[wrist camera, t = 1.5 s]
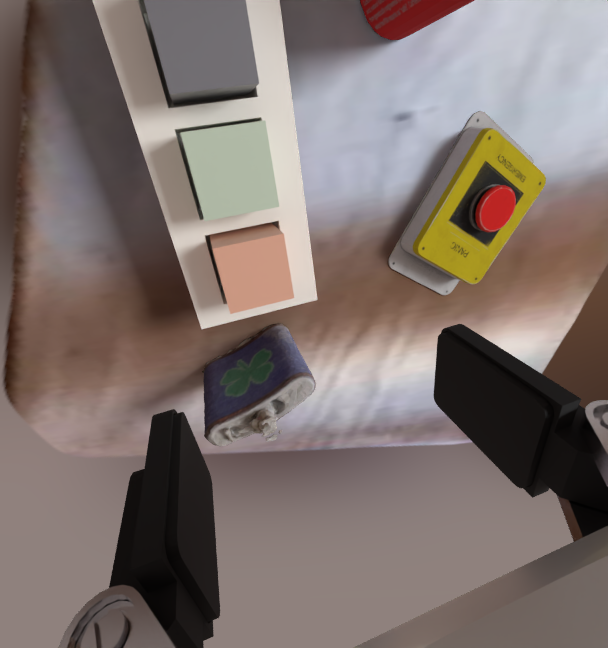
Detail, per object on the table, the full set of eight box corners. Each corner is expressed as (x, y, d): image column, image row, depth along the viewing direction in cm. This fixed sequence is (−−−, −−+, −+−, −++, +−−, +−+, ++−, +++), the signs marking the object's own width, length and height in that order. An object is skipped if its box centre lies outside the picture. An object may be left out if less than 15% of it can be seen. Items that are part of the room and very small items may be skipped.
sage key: (182, 135, 20) (180, 132, 17) (253, 125, 21) (265, 120, 18) (202, 210, 22) (204, 221, 19) (266, 198, 23) (279, 206, 20)
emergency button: (575, 163, 29) (472, 312, 33) (531, 162, 33) (443, 295, 37) (514, 99, 25) (406, 277, 29) (472, 106, 28) (381, 263, 33)
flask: (281, 317, 32) (317, 385, 22) (294, 339, 33) (333, 411, 24) (196, 367, 31) (198, 456, 22) (213, 387, 33) (222, 477, 24)
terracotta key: (209, 234, 23) (212, 248, 20) (270, 221, 24) (283, 233, 20) (225, 292, 25) (230, 314, 22) (280, 278, 26) (294, 298, 23)
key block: (99, -13, 19) (72, -61, 15) (254, -22, 21) (271, -68, 16) (200, 302, 29) (201, 329, 24) (299, 279, 30) (317, 299, 26)
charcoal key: (145, 3, 17) (134, -34, 14) (230, -3, 18) (239, -39, 15) (173, 104, 19) (169, 94, 16) (247, 95, 20) (259, 83, 17)
